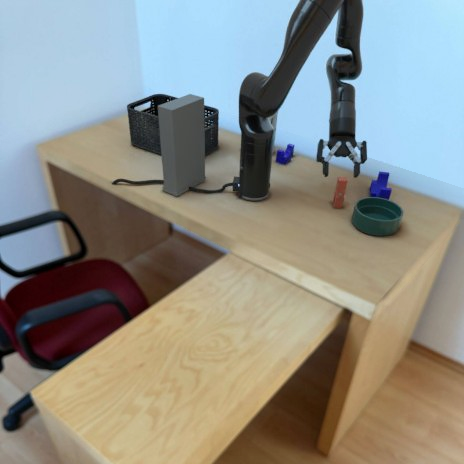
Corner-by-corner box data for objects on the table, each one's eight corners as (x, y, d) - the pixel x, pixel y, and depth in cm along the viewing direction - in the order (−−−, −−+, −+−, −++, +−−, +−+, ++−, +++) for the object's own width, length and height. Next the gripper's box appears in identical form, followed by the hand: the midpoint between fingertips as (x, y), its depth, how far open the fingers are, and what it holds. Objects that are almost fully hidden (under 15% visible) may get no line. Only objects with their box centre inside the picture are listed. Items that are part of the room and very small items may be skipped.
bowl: (355, 236, 119) (360, 220, 116) (347, 211, 129) (351, 196, 125) (403, 237, 119) (409, 222, 116) (391, 213, 129) (396, 197, 125)
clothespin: (334, 208, 130) (339, 181, 124) (332, 202, 132) (337, 175, 127) (342, 208, 130) (348, 181, 124) (340, 202, 132) (346, 176, 127)
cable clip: (369, 188, 140) (374, 170, 136) (383, 190, 139) (389, 172, 135) (370, 207, 131) (375, 188, 127) (386, 209, 130) (391, 190, 126)
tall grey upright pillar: (190, 175, 143) (188, 93, 126) (205, 180, 140) (204, 97, 123) (162, 191, 134) (154, 105, 117) (177, 197, 132) (172, 110, 115)
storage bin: (222, 146, 160) (222, 108, 151) (190, 165, 148) (189, 125, 139) (161, 129, 171) (158, 92, 162) (127, 145, 158) (121, 106, 149)
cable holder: (284, 164, 151) (285, 153, 148) (275, 161, 152) (276, 150, 149) (296, 157, 155) (298, 146, 153) (288, 154, 157) (289, 143, 154)
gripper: (320, 115, 124) (319, 171, 124) (370, 116, 125) (369, 173, 124) (315, 127, 132) (314, 180, 131) (362, 128, 132) (361, 181, 131)
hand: (341, 176), depth 128 cm, fingers open, 8 cm apart
